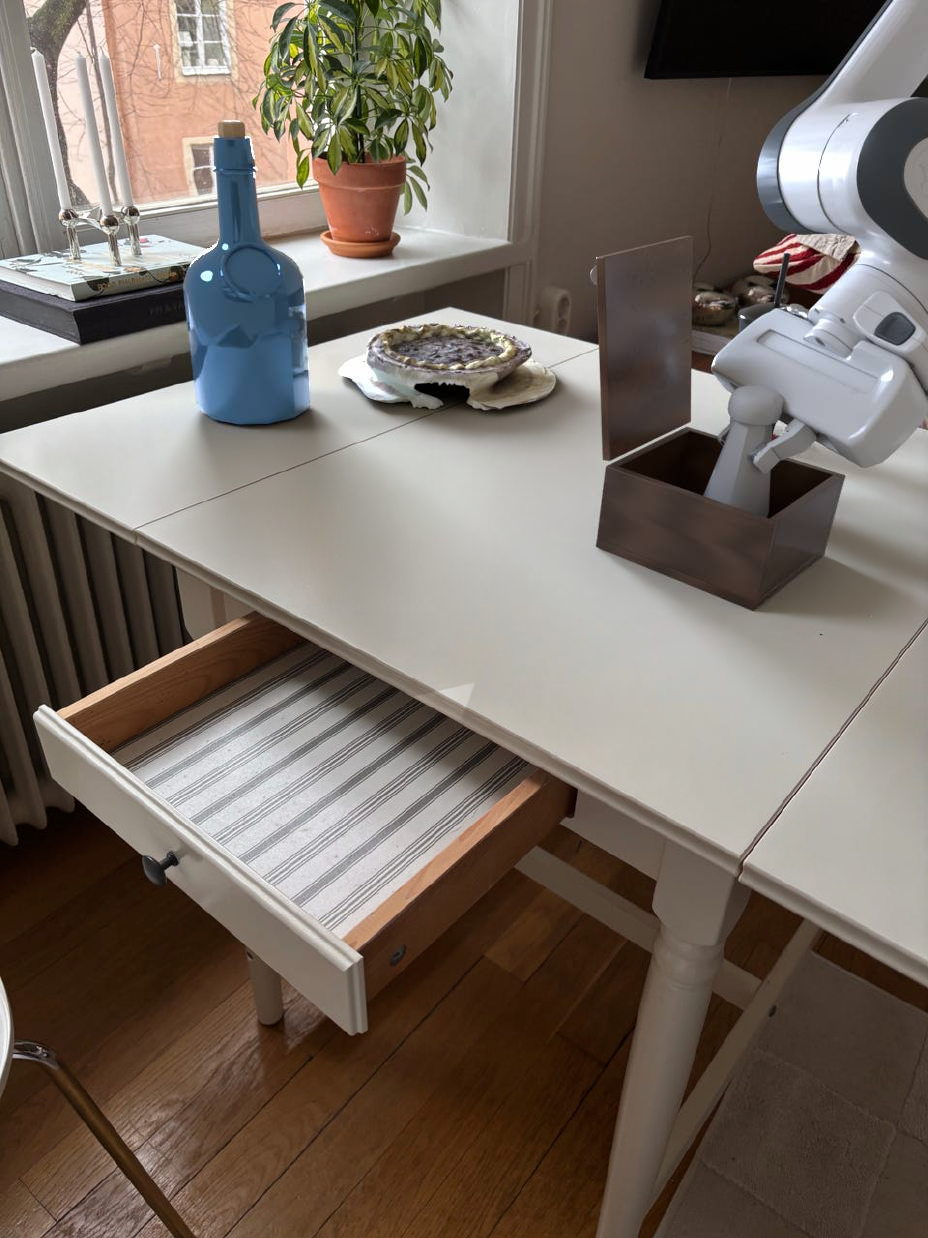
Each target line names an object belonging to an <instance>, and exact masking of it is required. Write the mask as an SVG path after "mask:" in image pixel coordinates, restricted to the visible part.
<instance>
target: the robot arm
mask: <svg viewBox="0 0 928 1238" xmlns="http://www.w3.org/2000/svg"><path fill="white" fill-rule="evenodd" d="M927 76H928V0H885V2H884V4H883V5H882V7H881V8H880V9H879V11H878V12H877V13H876V14H875V16H874V17H873V18H872V20H871V21H870V22H869V24H868V25H867V27H866V28H865V29H864V31H863V32H862V33H861V35H860V36H859V37H858V39H857V40H856V41H855V43H854V44H853V46H852V47H851V48H850V50H849V51H848V52H847V54H846V55H845V56H844V57H843V59H842V60H841V62H840V63H839V64H838V65H837V67H836V68H835V69H834V71H833V72H832V73H831V74H830V76H829V77H828V78H827V79H826V80H825V81H824V83H823V84H822V85H821V86H820V87H819V88H818V89H817V90H815V92H814V93H812V94H810V96H808V97H807V98H806V99H805V100H803V101H801V102H800V103H799V104H797V105H796V106H795V107H794V108H792V109H790V111H788V112H787V113H786V114H785V115H784V116H783V117H782V118H780V119H779V121H777V123H776V124H775V125H774V126H773V127H772V129H771V131H770V132H769V134H768V135H767V137H766V139H765V141H764V143H763V145H762V147H761V151H760V154H759V157H758V161H757V169H756V187H757V194H758V198H759V201H760V204H761V206H762V209H763V211H764V213H765V215H766V216H767V218H768V219H769V220H770V221H771V222H772V223H773V225H775V226H776V227H777V228H778V229H780V230H782V231H784V232H786V233H789V234H791V235H795V236H796V235H797V236H810V235H813V236H814V235H829V234H830V235H838V236H846V237H854V240H855V241H856V243H857V244H858V245H859V247H860V255H859V258H858V259H857V261H855V262H854V263H853V264H852V266H850V268H849V269H848V270H847V271H846V272H845V273H844V274H843V275H841V277H840V278H839V279H838V280H837V281H836V282H835V283H834V284H833V285H832V286H831V287H830V288H829V289H828V290H827V291H826V292H825V293H824V294H823V295H822V297H820V298H819V299H818V300H817V302H816V303H814V305H812V307H811V308H810V309H807V308H805V307H804V306H803V305H801V304H799V303H790V304H788V305H789V306H786V307H782V308H779V309H778V308H776V309H774V310H772V311H771V312H768V313H766V314H764V315H762V316H761V317H759V318H758V319H756V320H755V321H754V322H752V323H751V324H750V325H749V326H748V327H746V328H745V329H744V330H743V331H742V332H740V333H739V332H738V333H739V334H737V335H735V336H734V338H733V339H731V340H730V341H729V342H728V343H727V344H726V345H725V346H724V347H722V348H721V349H720V351H718V352H717V354H715V356H714V357H713V360H712V363H711V368H710V370H711V372H712V374H713V376H714V377H715V378H716V379H717V381H718V382H719V383H720V385H721V386H722V387H723V388H724V389H725V391H726V392H729V393H730V394H732V393H733V391H734V390H736V389H737V388H739V387H743V386H763V387H767V388H770V389H773V390H775V391H777V392H778V393H779V394H780V395H781V397H782V398H783V400H784V401H783V410H782V414H781V416H780V418H779V420H778V422H781V423H783V424H785V425H786V426H785V427H784V430H785V433H784V434H782V435H780V436H778V437H777V438H776V439H775V440H773V441H771V442H769V443H767V444H765V443H763V442H762V443H760V444H759V445H758V446H757V447H756V448H755V449H754V450H753V451H751V452H750V453H748V455H747V459H748V460H749V461H750V463H751V464H752V465H753V466H754V467H755V468H756V469H757V470H759V471H760V472H762V473H764V474H766V473H768V472H769V471H770V470H771V469H772V468H773V467H774V466H775V465H776V464H777V463H778V462H779V461H780V460H784V459H786V458H792V457H794V456H796V455H799V454H801V453H803V452H805V451H807V450H808V449H809V448H810V447H811V446H812V445H813V444H814V443H815V442H816V443H818V444H820V445H821V446H823V447H824V448H827V449H828V450H830V451H832V452H833V453H835V454H836V455H839V456H841V457H842V458H843V459H845V460H848V461H849V462H851V463H852V464H854V465H856V466H857V467H859V468H862V469H869V468H870V467H874V466H877V465H880V464H883V463H884V462H885V461H886V460H887V459H889V458H890V457H891V456H892V455H893V454H894V453H895V452H896V451H898V449H899V448H901V446H903V445H904V443H905V442H906V441H907V440H908V439H909V438H910V437H911V436H912V435H913V434H914V433H915V432H916V430H918V429H919V427H920V426H921V425H922V423H923V422H924V421H925V420H926V418H927V416H928V97H918V96H915V97H913V96H912V95H913V94H914V93H915V92H916V90H917V89H918V87H919V86H920V85H921V84H922V82H923V81H924V80H925V79H926V77H927ZM911 96H912V97H911ZM785 311H787V312H785ZM733 420H734V419H733V418H731V421H730V420H729V423H728V425H727V426H725V428H723V429H722V430H721V432H720V433H719V434H718V435H717V436H718V441H719V443H720V444H721V445H722V446H724V444H725V441H726V438H727V436H728V433H729V431H730V428H731V425H732V423H733ZM730 422H731V423H730Z"/></svg>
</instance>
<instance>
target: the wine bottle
mask: <svg viewBox="0 0 928 1238" xmlns="http://www.w3.org/2000/svg"><path fill="white" fill-rule="evenodd" d="M217 132H218V135H215V136H214V137H213V168H212V172H214V173H215V179H216V195H217V196H216V197H217V213H218V229H219V230H218V231H219V237H218V240H217V242H216V243H215V244H214V245H212V247H210V248H207V249H206V250H204V251H202V252H200V253H199V254H198V255H197V256H195V257H194V258H193V259H192V261H191V262H190V265H189V266H188V268H187V271H186V273H185V275H184V280H183V282H182V288H183V301H184V307H185V316H186V324H187V325H186V327H187V332H188V333H187V334H188V341H189V349H190V357H191V358H190V359H191V366H192V376H193V383H194V391H195V400H196V405H197V406H198V409H199V411H201V413H204V414H205V415H206V416H207V417H210V418H211V419H212V420H215V421H219V422H226V423H230V424H235V425H268V424H273V423H277V422H281V421H286V420H290V419H295V418H296V417H297V416H299V415H300V414H302V413H304V412H305V411H307V410H308V408H309V407H310V403H311V386H310V385H311V384H310V368H309V366H310V365H309V346H308V331H307V312H306V311H307V310H306V309H307V308H306V293H305V292H306V291H305V290H306V289H305V278H304V275H303V273H302V271H301V269H300V267H299V265H298V264H297V262H295V261H294V259H293V258H292V257H290V256H289V255H287V254H286V253H285V252H283V251H280V250H278V249H276V248H274V247H272V246H271V245H269V244H267V242H266V240H265V239H264V237H263V235H262V231H261V230H262V229H261V220H260V211H259V202H258V191H257V184H256V183H257V182H256V175H255V174H256V173H257V171H258V168H257V167H256V161H255V155H254V150H253V144H252V139H251V137H250V136H249V135H246V125H245V123H244V121H241V120H232V119H226V120H225V119H224V120H220V121H218V122H217Z"/></svg>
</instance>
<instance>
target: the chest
mask: <svg viewBox="0 0 928 1238" xmlns="http://www.w3.org/2000/svg"><path fill="white" fill-rule="evenodd" d="M722 449H723V446H722V445H721V444H720V443H719V441H718V435H717V434H713V433H710V432H706V431H703V430H700V429H697V428H693V427H689V426H685V427H683V428H680V429H678V430H676V431H674V432H672V433H671V434H668V435H665V436H664V437H662V438H660V439H658V440H655V441H654V442H652V443H650V444H648V445H646V446H644V447H642V448H640V449H637V450H636V451H633V452H631V453H630V454H629V453H628V454H627V455H626V456H623V457H621V458H619V459H617V460H615V461H613V462H611V463H610V464H607V465H606V466H605V471H604V479H603V487H602V493H601V494H602V495H601V502H600V511H599V519H598V526H597V534H596V542H595V547H596V548H598V549H601V550H603V551H606V552H608V553H610V554H612V555H615V556H618V557H621V558H623V559H626V560H627V561H631V562H633V563H635V564H638V565H640V566H642V567H644V568H648V569H650V570H652V571H655V572H657V573H659V574H662V575H664V576H667V577H669V578H672V579H674V580H677V581H680V582H682V583H684V584H687V585H689V586H692V587H694V588H696V589H699V590H702V591H704V592H706V593H709V594H711V595H714V596H715V597H718V598H721V599H723V600H726V601H729V602H731V603H733V604H736V605H738V606H741V607H743V608H744V609H745V608H746V609H748V610H751V611H753V612H755V611H756V610H758V609H759V608H760V607H762V605H764V604H765V603H766V602H767V601H769V600H770V599H771V598H772V597H774V596H775V595H776V594H777V593H779V592H780V591H782V589H784V588H785V587H786V586H788V585H789V584H790V583H791V582H793V580H795V579H796V578H797V577H798V576H800V575H801V574H803V572H804V571H806V570H807V569H808V568H810V567H811V566H812V565H813V564H814V563H816V562H817V561H818V560H820V559H821V558H822V557H823V556H825V553H826V550H827V545H828V542H829V538H830V535H831V531H832V528H833V523H834V519H835V516H836V513H837V508H838V505H839V502H840V497H841V494H842V490H843V487H844V482H845V479H846V474H843V473H841V472H837V471H833V470H830V469H828V468H824V467H820V466H817V465H814V464H811V463H808V462H804V461H801V460H797V459H794V458H792V457H789V458H786V459H784V460H780V461H779V462H778V463H777V464H776V465H775V466H774V467H773V468H772V469H771V470H770V494H769V513H768V516H767V518H765V517H762V516H760V515H757V514H754V513H751V512H748V511H745V510H742V509H739V508H736V507H734V506H731V505H728V504H725V503H722V502H719V501H716V500H713V499H711V498H708V497H705V496H703V495H704V493H705V490H706V488H707V485H708V483H709V480H710V478H711V476H712V473H713V471H714V468H715V466H716V464H717V461H718V459H719V456H720V454H721V451H722Z"/></svg>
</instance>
